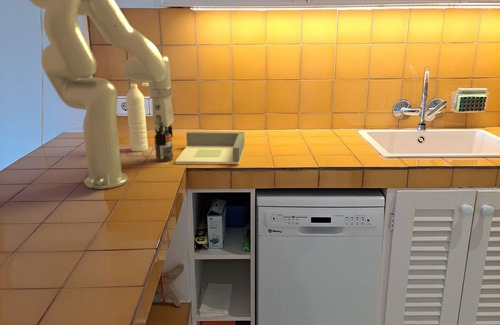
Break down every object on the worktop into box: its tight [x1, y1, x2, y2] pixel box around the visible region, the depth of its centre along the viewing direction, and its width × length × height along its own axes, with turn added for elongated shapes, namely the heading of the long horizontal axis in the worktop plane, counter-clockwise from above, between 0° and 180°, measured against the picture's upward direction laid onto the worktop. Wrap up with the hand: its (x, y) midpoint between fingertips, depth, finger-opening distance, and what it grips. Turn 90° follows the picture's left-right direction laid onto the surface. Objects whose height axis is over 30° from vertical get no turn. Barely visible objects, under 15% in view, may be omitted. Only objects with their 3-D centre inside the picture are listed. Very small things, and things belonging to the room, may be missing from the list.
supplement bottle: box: [154, 128, 174, 162], centre depth 158 cm, size 6×6×11 cm
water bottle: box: [125, 82, 149, 153], centre depth 169 cm, size 9×6×25 cm
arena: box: [174, 131, 245, 165], centre depth 164 cm, size 22×22×6 cm
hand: (164, 141), depth 159 cm, fingers open, 9 cm apart
